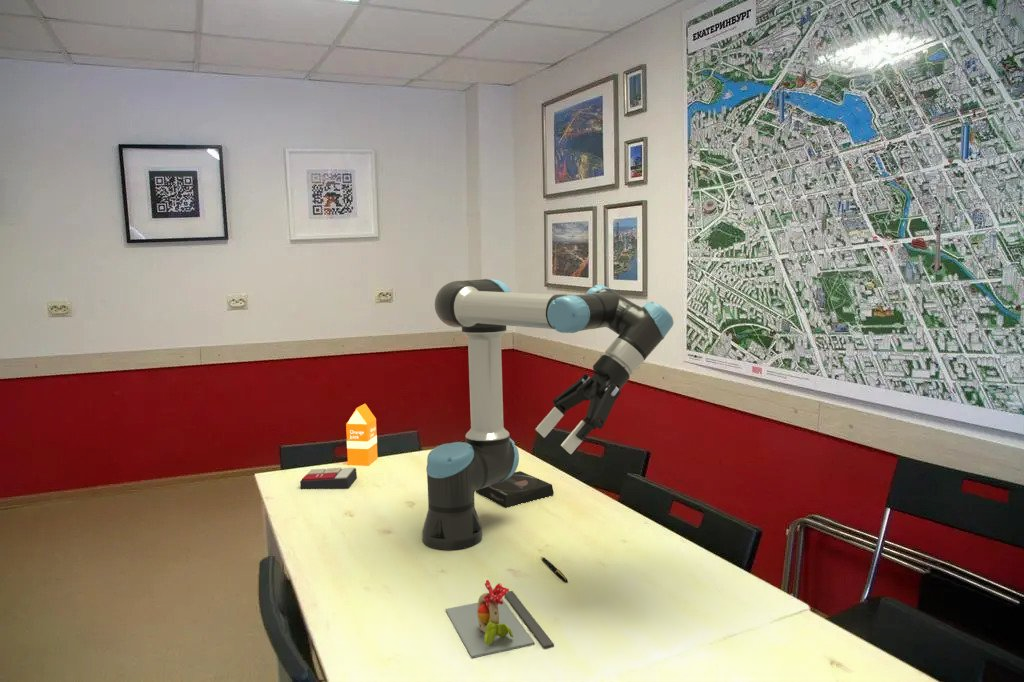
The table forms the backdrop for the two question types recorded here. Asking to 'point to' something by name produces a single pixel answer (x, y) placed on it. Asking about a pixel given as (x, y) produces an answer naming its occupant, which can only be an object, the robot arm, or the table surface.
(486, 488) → the black flat box
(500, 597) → the bird rattle
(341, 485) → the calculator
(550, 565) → the fountain pen
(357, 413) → the orange juice
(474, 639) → the mat
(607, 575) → the table surface
